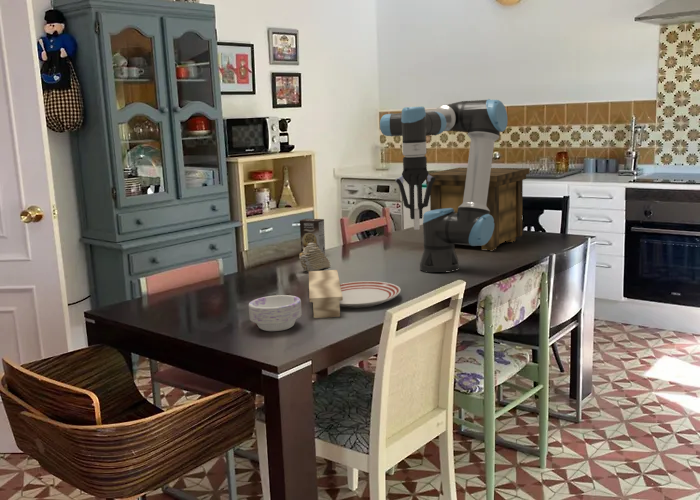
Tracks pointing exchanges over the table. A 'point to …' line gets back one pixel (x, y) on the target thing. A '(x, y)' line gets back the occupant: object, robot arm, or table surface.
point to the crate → (500, 199)
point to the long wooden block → (325, 293)
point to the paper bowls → (275, 312)
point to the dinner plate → (367, 293)
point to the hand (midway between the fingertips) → (416, 228)
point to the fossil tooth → (313, 258)
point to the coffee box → (312, 233)
